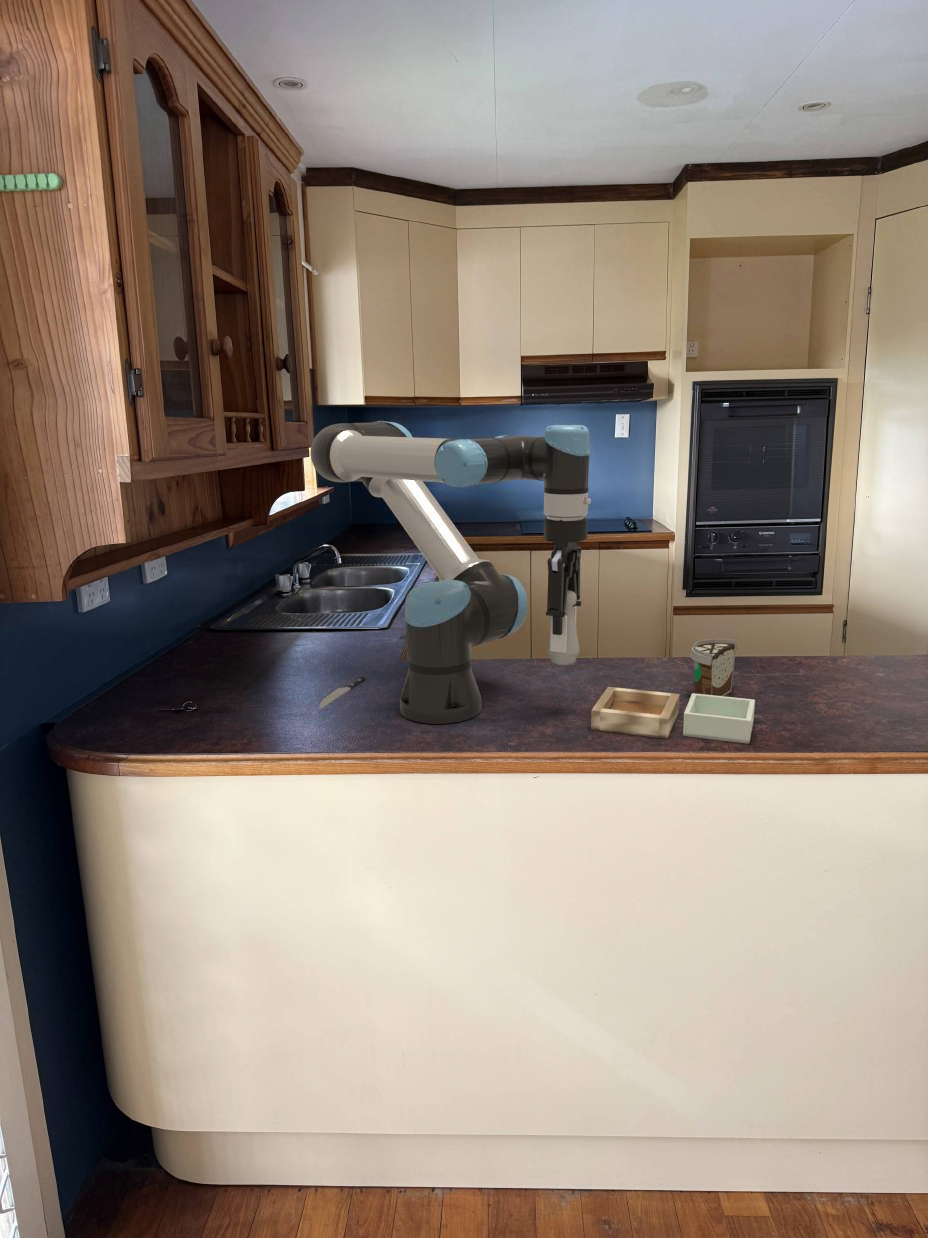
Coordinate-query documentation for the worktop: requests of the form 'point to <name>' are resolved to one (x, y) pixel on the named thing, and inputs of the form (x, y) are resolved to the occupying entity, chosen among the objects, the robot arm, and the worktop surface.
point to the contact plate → (637, 708)
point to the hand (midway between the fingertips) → (563, 646)
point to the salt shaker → (572, 637)
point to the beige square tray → (635, 713)
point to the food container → (713, 666)
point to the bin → (719, 718)
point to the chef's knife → (339, 692)
